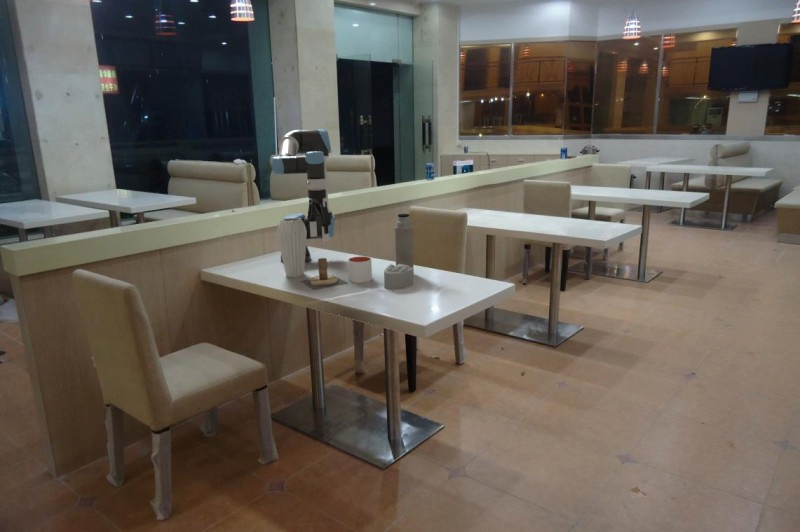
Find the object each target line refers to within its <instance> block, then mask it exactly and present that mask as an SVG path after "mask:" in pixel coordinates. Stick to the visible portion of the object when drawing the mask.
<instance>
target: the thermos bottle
mask: <svg viewBox="0 0 800 532" xmlns="http://www.w3.org/2000/svg"><path fill="white" fill-rule="evenodd" d="M397 219H398V220H397V221H396V223H395V225H396V226H395V227H394V237H395V238H394V240H395V241H394V243H395V245H394V247H395V249H394V250H395V266H396V265H398V264H403V265H408V266H409V267H412V268H413V276H414V273H415V272H414V271H415V270H414V268H415V267H414V226H413V225H412V221H411V220H410V214H409V213H398V215H397Z"/></svg>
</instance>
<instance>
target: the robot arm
mask: <svg viewBox="0 0 800 532" xmlns="http://www.w3.org/2000/svg"><path fill="white" fill-rule="evenodd" d="M277 145H278V146H277V147H278V150H279V151H278V156H273V157H272V158H271V166H272V172H273V173H272V174H274V175H281V176H282V175H293V174H295V175H298V174H306V176H307V177H306V178H307V179H306V180H307V182H306V184H307V188H308V190H307V197H308V210H307V211H308V212H307V215H305V213H302V212H300V213H292V214H288V215H285V216H283V217H282V218H281V220H282V219H287V218H300V219H301V220H302V221H303V223H304V224H305V227H306V230H307V237H306V240H318V239H320V240H321V239H322V242H323V243H325V242H330V239H331V238H333V237H334V234H335V224H336V223H335V222H336V215H335V214H333V212H332V210H331V209H330V208H329V194H328V192H329V191H328V189H329V188H328V175H327V174H328V172H327V159H328V158H329V155H330V154H331V153H332V147H331V142H330V137H329V132H328V130H327V129H324V128H316V129H315V128H313V129H312V128H310V129H309V128H308V129H293V130H290V131H288V132H286V133H285V134H284V135H283V136H281V137H280V139H279V140H278V144H277ZM300 154H302V155H300ZM303 154H304V155H303ZM311 259H312V255H311V253H310V250H309V248H308V245H307V244H306V253H305V263H306V262H307V263H308V262H309V261H311ZM280 262H281V263H283V259H282V255H281V254H280Z"/></svg>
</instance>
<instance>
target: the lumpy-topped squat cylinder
mask: <svg viewBox="0 0 800 532" xmlns="http://www.w3.org/2000/svg"><path fill="white" fill-rule="evenodd" d="M413 268H414V267H413ZM413 268H412V267H409V266H408V265H403V264H398V265H396V264H395V265H394V264H393V263H392V264H388V265H387V267H386V268H385V269H384V271H383V280H384V283H383V284H384V285H383V286H384V289H385V290H389V291H390V290H392V291H395V290H403V289H407V288H410V287H412V286H413V285H414V275H413Z"/></svg>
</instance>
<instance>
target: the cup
mask: <svg viewBox="0 0 800 532" xmlns="http://www.w3.org/2000/svg"><path fill="white" fill-rule="evenodd" d="M347 261H348V262H347V263H348V278H349V282H351V283H354V284H365V283H368V282H371V281H372V279H373V269H372V267H373V266H372V258H371V257H369V256H353V257H350V258H348V260H347Z"/></svg>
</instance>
